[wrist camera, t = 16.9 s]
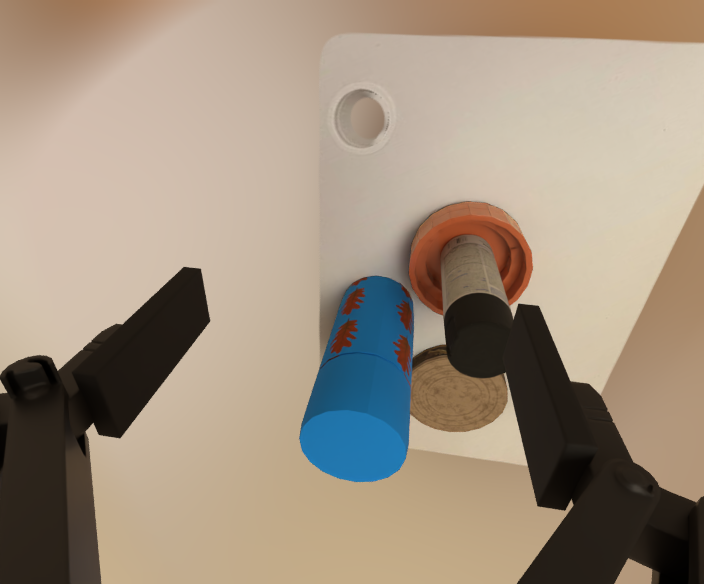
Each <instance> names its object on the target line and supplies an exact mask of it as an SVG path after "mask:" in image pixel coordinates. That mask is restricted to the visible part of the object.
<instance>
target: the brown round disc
mask: <svg viewBox="0 0 704 584" xmlns="http://www.w3.org/2000/svg"><path fill="white" fill-rule="evenodd" d="M507 401H508V400H507V386H506V381H505V377H504V374H501V375H499V376H496V377H492V378H483V379H482V378H473V377H469V376H466V375H464V374H462V373H460V372H458V371H457V370H456V369H455V368H454V367H453V366H452V365H451V364H450V362H449V360H448V358H447V351H446V345H439V346H436V347H433V348H430V349H427V350H424V351H423V352H421V353H420V354H418V355H417V356H415V357H414V358H413V359H412V379H411V402H410V414H411V415H412V416H413V417H415V418H416V419H417V420H418V421H420V422H421V423H423V424H425V425H427V426H429V427H432V428H434V429H438V430H443V431H448V432H466V431H470V430H475V429H479V428H481V427H483V426H485V425H487V424H489V423H491V422H493V421H494V420H495V419H496V418H497V417H498V416H499V415H500V414H501V413H502V412H503V410H504V408H505V406H506V404H507Z"/></svg>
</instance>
